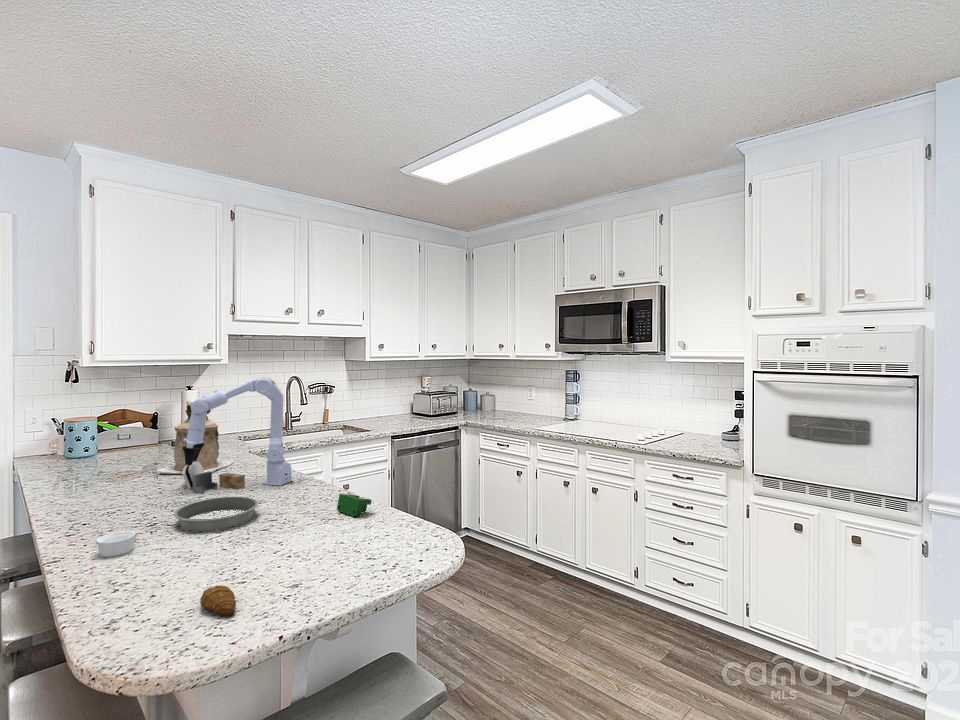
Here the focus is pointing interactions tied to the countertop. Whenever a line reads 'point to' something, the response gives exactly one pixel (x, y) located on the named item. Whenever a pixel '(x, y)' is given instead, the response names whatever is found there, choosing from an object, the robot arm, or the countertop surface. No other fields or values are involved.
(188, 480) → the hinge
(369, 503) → the green wheelie bin
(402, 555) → the countertop surface
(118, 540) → the ramekin
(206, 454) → the cookie jar
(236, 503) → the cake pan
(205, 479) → the grey metal bench
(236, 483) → the block
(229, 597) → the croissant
